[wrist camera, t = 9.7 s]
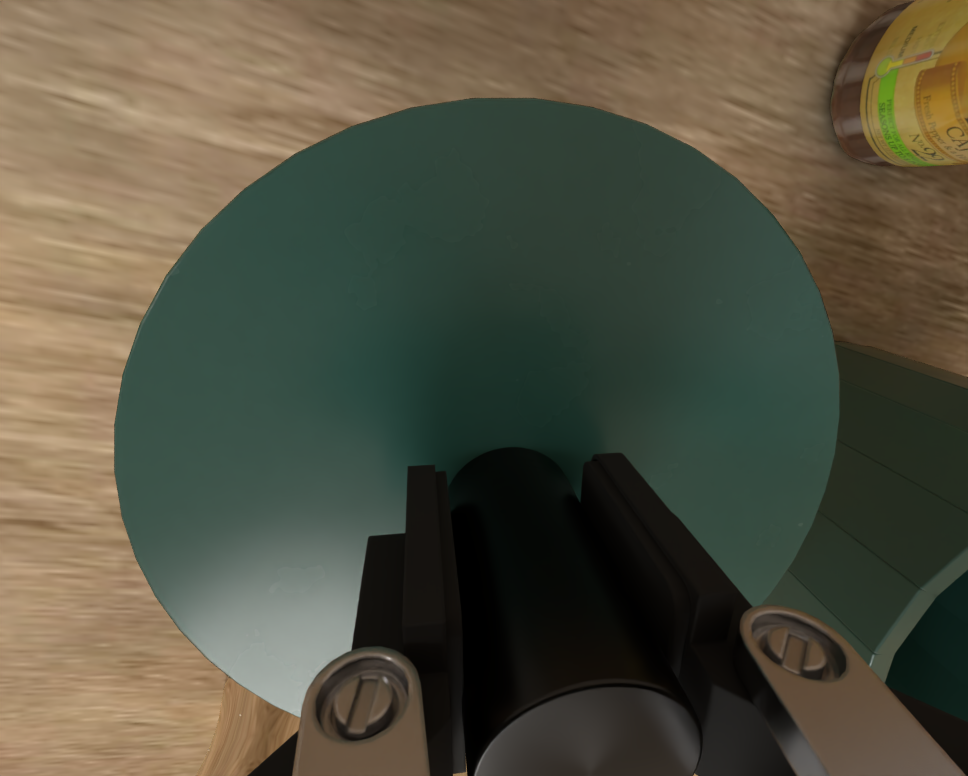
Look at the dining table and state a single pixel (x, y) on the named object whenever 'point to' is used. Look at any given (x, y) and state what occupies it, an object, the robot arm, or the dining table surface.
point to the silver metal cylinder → (245, 733)
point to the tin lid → (478, 409)
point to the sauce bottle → (906, 87)
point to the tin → (894, 527)
